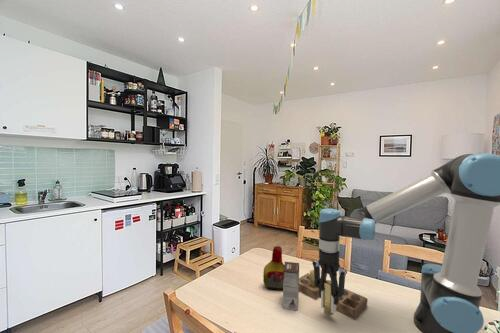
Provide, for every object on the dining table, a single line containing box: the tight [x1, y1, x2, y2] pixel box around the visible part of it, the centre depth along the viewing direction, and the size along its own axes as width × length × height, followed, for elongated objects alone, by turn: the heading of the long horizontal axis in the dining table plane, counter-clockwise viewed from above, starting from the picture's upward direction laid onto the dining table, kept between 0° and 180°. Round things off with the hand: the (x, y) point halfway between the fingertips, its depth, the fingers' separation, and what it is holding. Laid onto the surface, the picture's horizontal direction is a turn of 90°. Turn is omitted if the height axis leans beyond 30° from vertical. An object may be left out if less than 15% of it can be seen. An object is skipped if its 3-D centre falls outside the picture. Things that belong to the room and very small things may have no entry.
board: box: [299, 269, 320, 301], centre depth 113 cm, size 12×12×10 cm
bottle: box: [262, 245, 285, 291], centre depth 113 cm, size 12×6×20 cm, turn 76°
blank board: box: [336, 288, 368, 320], centre depth 100 cm, size 12×12×4 cm
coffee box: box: [282, 261, 300, 311], centre depth 101 cm, size 9×6×16 cm
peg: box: [323, 279, 335, 317], centre depth 93 cm, size 4×4×12 cm
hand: (328, 308), depth 93 cm, fingers closed on peg, 3 cm apart
